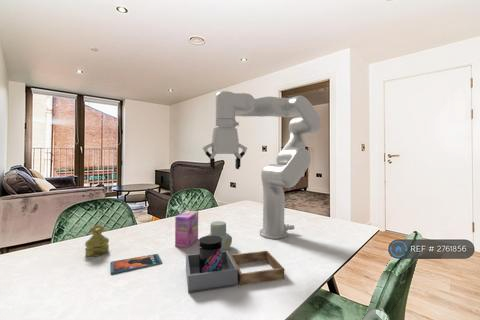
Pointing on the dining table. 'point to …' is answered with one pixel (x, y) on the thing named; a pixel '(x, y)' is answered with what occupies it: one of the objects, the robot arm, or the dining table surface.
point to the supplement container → (210, 254)
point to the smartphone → (134, 263)
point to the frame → (258, 276)
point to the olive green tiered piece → (96, 242)
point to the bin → (210, 274)
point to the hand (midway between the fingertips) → (225, 169)
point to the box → (186, 228)
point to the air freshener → (221, 234)
